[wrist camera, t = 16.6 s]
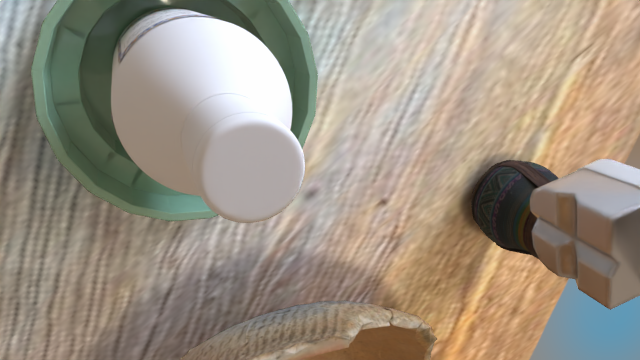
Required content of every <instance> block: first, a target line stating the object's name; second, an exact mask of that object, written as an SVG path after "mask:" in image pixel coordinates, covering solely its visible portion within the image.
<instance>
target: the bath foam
mask: <svg viewBox="0 0 640 360" xmlns="http://www.w3.org/2000/svg"><path fill="white" fill-rule="evenodd" d="M111 118H112V122H113V125H114V128H115V131H116V133H117V136H118V138H119V140H120V142H121V144H122V145H123V147H124V149H125V150H126V152H127V153H128V155H129V156H130V158H131V159H132V160H133V161H134V163H135V164H136V165H137V166H138V167H139V168H140V169H141V170H142V171H143V172H145V173H146V174H147V175H148V176H149V177H151V178H152V179H154V180H155V181H157V182H158V183H160V184H162V185H164V186H166V187H168V188H170V189H172V190H175V191H178V192H181V193H185V194H190V195H197V196H201V198H202V199H203V201H204V202H205V203H206V205H207V206H208V207H209V208H210V209H211V210H212V211H214V212H215V213H216V214H218V215H219V216H221V217H223V218H225V219H228V220H231V221H235V222H241V223H253V222H259V221H263V220H266V219H269V218H271V217H273V216H275V215H277V214H278V213H280V212H281V211H282V210H284V209H285V208H286V207H287V206H288V205H289V204H290V203H291V202H292V201H293V199H294V198H295V197H296V195H297V193H298V192H299V190H300V187H301V185H302V182H303V178H304V173H305V161H304V154H303V151H302V148H301V146H300V143H299V142H298V140H297V138H296V137H295V135H294V134H293V133H292V132H291V131H290V129H291V122H292V99H291V94H290V89H289V85H288V82H287V79H286V77H285V75H284V72H283V70H282V68H281V66H280V65H279V63H278V61H277V60H276V58H275V57H274V56H273V54H272V53H271V52H270V51H269V49H268V48H267V47H266V46H265V45H264V44H263V43H262V42H261V41H260V40H259V39H258V38H257V37H256V36H254V35H253V34H252V33H250V32H249V31H247V30H246V29H244V28H242V27H240V26H238V25H236V24H233V23H231V22H228V21H225V20H222V19H218V18H215V17H211V16H208V15H204V14H201V13H198V12H194V11H191V10H187V9H182V8H173V7H167V8H159V9H155V10H151V11H149V12H146V13H144V14H142V15H140V16H139V17H137V18H136V19H135V20H133V21H132V22H131V23H130V24H129V25H128V26H127V27H126V28H125V29H124V31H123V32H122V34H121V35H120V37H119V39H118V41H117V44H116V46H115V50H114V54H113V63H112V84H111Z"/></svg>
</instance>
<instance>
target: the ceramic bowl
mask: <svg viewBox="0 0 640 360" xmlns="http://www.w3.org/2000/svg"><path fill="white" fill-rule="evenodd" d="M436 340H437V338H436V337H435V335H434V334H433V330H432V327H431V326H430V325H429V324H428V323H427V322H425V321H424V320H422V319H421V318H420V317H419V316H416V315H412V314H409V313H405V312H402V311H398V310H395V309H392V308H387V307H382V306H377V305H373V304H366V303H358V302H350V301H336V302H335V301H324V302H316V303H311V304H304V305H296V306H293V307H289V308H285V309H281V310H278V311H274V312H271V313H267V314H264V315H260V316H257V317H254V318H252V319H251V320H248V321H246V322H243V323H240V324H237V325H234V326H232V327H230V328H228V329H226V330H224V331H222V332H221V333H219V334H217V335H215V336H214V337H212V338H210V339H208V340H207V341H205V342H202V343H201V344H200V345H199V346H197V347H195V348H192V349H190V350H189V351H188V352H187V354H186V355H185V356H183V357H182V358H181V359H180V360H430V357H431V351H432V348H433V345H434V342H435V341H436Z"/></svg>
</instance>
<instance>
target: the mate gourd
mask: <svg viewBox="0 0 640 360" xmlns="http://www.w3.org/2000/svg"><path fill="white" fill-rule="evenodd" d="M557 179H558V177H557V176H556V175H554V174H553V173H552V172H551V171H550V170H548V169H547V168H545V167H543V166H541V165H538V164H535V163H532V162H522V161H511V160H509V161H508V160H507V161H503V162H501V163H497V164H495V165H494V166H492V167H491V168H490V169H489V170H488V171H487V172H486V173H485V174H484V175H483V176H482V177H481V178H480V180H479V181H478V183H477V184H476V186H475V189H474V191H473V195H472V201H471V208H472V214H473V218H474V220H475V222H476V223H477V224H478V226H479V227H480V229H481V230H482V231H483V232H484V233H485V235H486V236H487V237H488V238H490V239H491V240H492V241H493V242H495V243H496V245H498V246H500V247H501V248H503V249H507V250H509V251H514V252H520V253H523V254H530V255H533V256H534V257H536V258H538V259H539V257H538V255H537V253H536V251H535V249H534V247H533V241H532V229H533V227H534V225H535V223H536V220H537V217H536V216H535V215H534V214H533V213H532V212H531V211H530V197H531V194H532V191H533V190H534V189H536V188H539V187H541V186H543V185H546V184H548V183H550V182H552V181H555V180H557ZM539 260H540V259H539Z"/></svg>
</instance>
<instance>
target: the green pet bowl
mask: <svg viewBox="0 0 640 360" xmlns="http://www.w3.org/2000/svg"><path fill="white" fill-rule="evenodd" d="M167 7H173V8H182V9H187V10H191V11H194V12H198V13H201V14H204V15H208V16H211V17H215V18H218V19H222V20H225V21H228V22H231V23H233V24H236V25H238V26H240V27H242V28H244V29H246V30H247V31H249V32H250V33H252V34H253V35H254V36H256V37H257V38H258V39H259V40H260V41H261V42H262V43H263V44H264V45H265V46H266V47H267V48H268V49H269V51H270V52H271V53H272V54H273V56H274V57H275V58H276V60H277V61H278V63H279V65H280V66H281V68H282V70H283V72H284V75H285V77H286V79H287V82H288V85H289V89H290V94H291V99H292V122H291V129H290V131H291V132H292V133H293V134H294V135H295V137H296V138H297V140H298V142H299V143H300V146H301V148H302V149H303V146H304V143H305V141H306V138H307V135H308V132H309V130H310V127H311V124H312V122H313V119H314V116H315V112H316V96H317V80H318V75H317V74H318V73H317V68H316V64H315V60H314V56H313V52H312V47H311V43H310V39H309V35H308V33H307V31H306V29H305V28H304V26H303V24H302V23H301V21H300V19H299V17H298V16H297V14H296V12H295V11H294V9H293V7H292V6H291V4H290V2H289V0H58V1H57V2H56V4H55V5H54V6H53V8H52V9H51V11H50V12H49V14H48V15H47V16H46V18H45V19H44V21H43V23H42V26H41V30H40V34H39V38H38V42H37V46H36V50H35V54H34V58H33V63H32V67H31V76H32V85H33V93H34V101H35V110H36V117H37V120H38V122H39V124H40V126H41V128H42V130H43V132H44V134H45V136H46V138H47V140H48V142H49V144H50V146H51V148H52V150H53V152H54V154H55V156H56V158H57V159H58V161H59V162H60V163H61V164H62V165H63V166H64V167H65V168H66V169H67V170H68V171H69V172H70V173H71V174H72V175H73V176H74V177H75V178H76V179H77V180H78V181H79V182H80V183H81V184H82V185H83V186H84V187H85V188H86V189H87V190H88V191H89V192H90V193H92V194H94V195H96V196H97V197H99V198H101V199H103V200H105V201H107V202H109V203H111V204H113V205H114V206H116V207H118V208H120V209H122V210H124V211H126V212H128V213H131V214H136V215H141V216H146V217H151V218H156V219H161V220H166V221H181V220H193V219H205V218H212V217H215V216H218V214H216V213H215V212H214V211H212V210H211V209H210V208H209V207H208V206H207V205H206V203H205V202H204V201H203V199H202V198H201V196H197V195H190V194H185V193H181V192H178V191H175V190H172V189H170V188H168V187H166V186H164V185H162V184H160V183H158V182H157V181H155V180H154V179H152V178H151V177H149V176H148V175H147V174H146V173H145V172H143V171H142V170H141V169H140V168H139V167H138V166H137V165H136V164H135V163H134V161H133V160H132V159H131V158H130V156H129V155H128V153H127V152H126V150H125V149H124V147H123V145H122V144H121V142H120V140H119V138H118V136H117V133H116V131H115V128H114V125H113V122H112V118H111V84H112V63H113V54H114V50H115V46H116V44H117V41H118V39H119V37H120V35H121V34H122V32H123V31H124V29H125V28H126V27H127V26H128V25H129V24H130V23H131V22H132V21H133V20H135V19H136V18H137V17H139V16H140V15H142V14H144V13H146V12H149V11H151V10H155V9H159V8H167Z"/></svg>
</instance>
